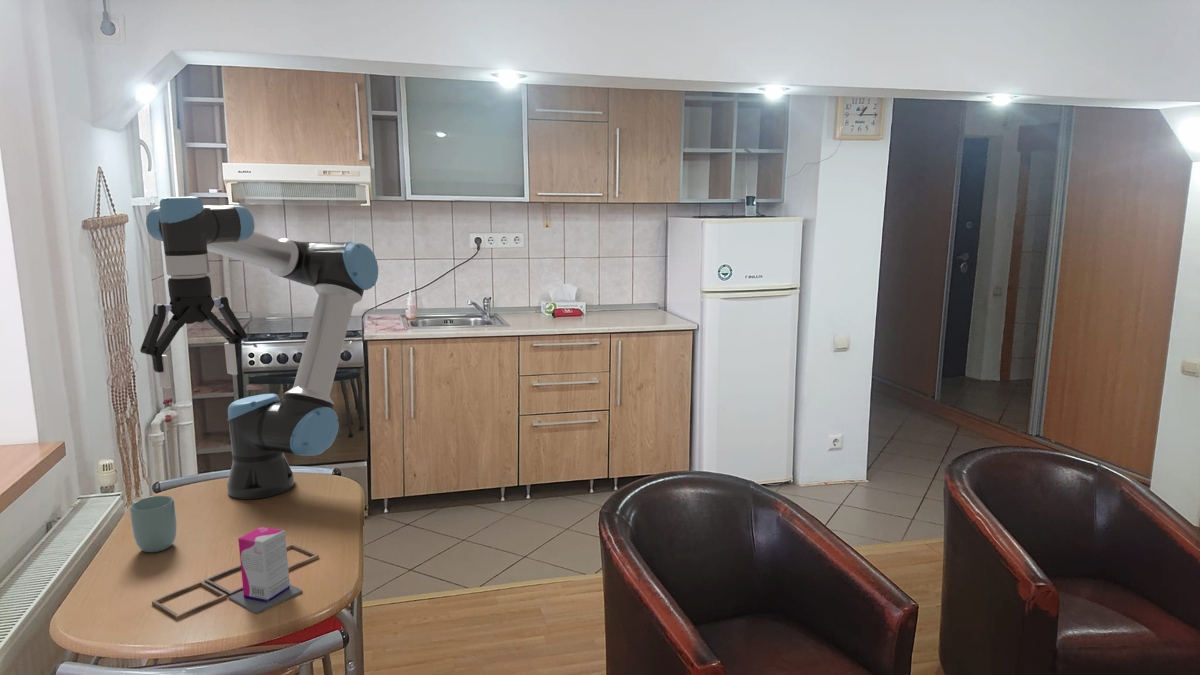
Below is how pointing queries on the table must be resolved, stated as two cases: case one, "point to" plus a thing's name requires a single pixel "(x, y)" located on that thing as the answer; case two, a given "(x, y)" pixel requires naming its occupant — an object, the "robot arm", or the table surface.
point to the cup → (154, 523)
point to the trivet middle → (209, 580)
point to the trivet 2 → (314, 556)
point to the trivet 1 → (178, 616)
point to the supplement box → (264, 564)
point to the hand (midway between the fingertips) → (200, 380)
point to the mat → (260, 605)
